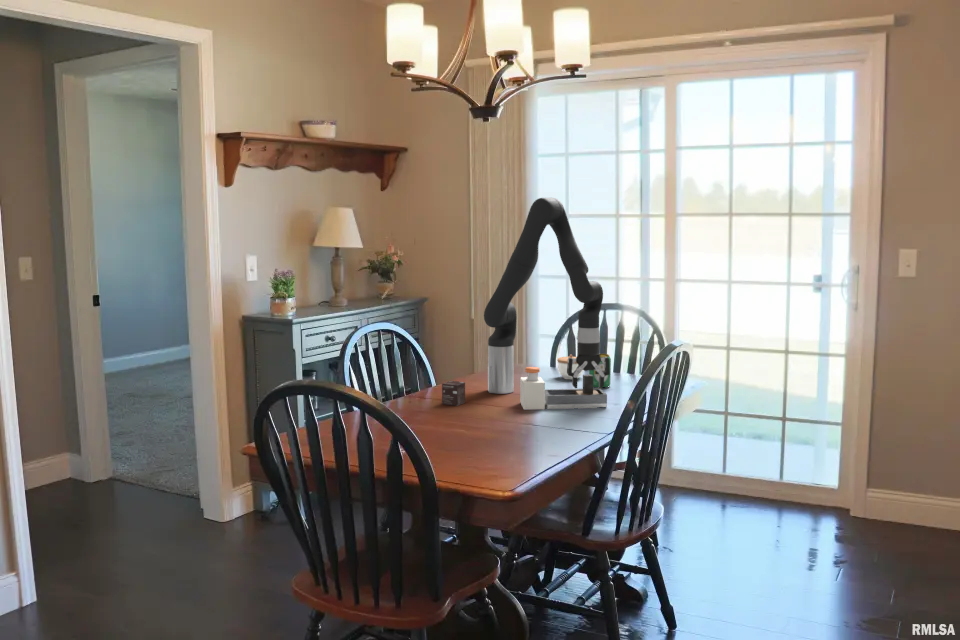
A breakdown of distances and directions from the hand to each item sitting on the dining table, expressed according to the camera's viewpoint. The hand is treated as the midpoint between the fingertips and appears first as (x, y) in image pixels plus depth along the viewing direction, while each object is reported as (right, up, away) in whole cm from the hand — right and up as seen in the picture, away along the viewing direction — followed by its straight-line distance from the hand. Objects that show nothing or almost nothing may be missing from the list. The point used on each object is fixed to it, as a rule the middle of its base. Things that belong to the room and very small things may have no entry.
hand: (588, 387), depth 280 cm
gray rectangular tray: (-5, -6, +1) cm, 8 cm away
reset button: (-19, +2, -1) cm, 19 cm away
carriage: (0, -4, +1) cm, 4 cm away
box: (-46, -6, +4) cm, 46 cm away
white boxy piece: (-19, -6, 0) cm, 20 cm away
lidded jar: (-1, 0, +48) cm, 48 cm away
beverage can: (+8, -2, +31) cm, 32 cm away
